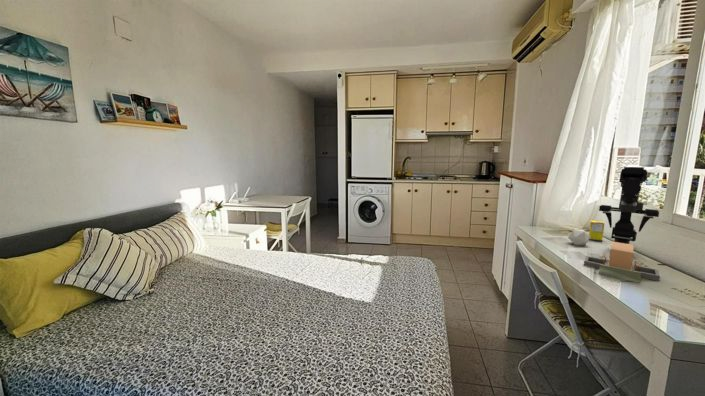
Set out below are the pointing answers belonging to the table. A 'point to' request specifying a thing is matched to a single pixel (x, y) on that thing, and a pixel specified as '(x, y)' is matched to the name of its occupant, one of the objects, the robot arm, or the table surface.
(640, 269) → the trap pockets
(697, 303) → the table surface
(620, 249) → the orange tan rectangular block
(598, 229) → the supplement box
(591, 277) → the table surface
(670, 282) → the table surface
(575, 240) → the die
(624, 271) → the small wooden bench
